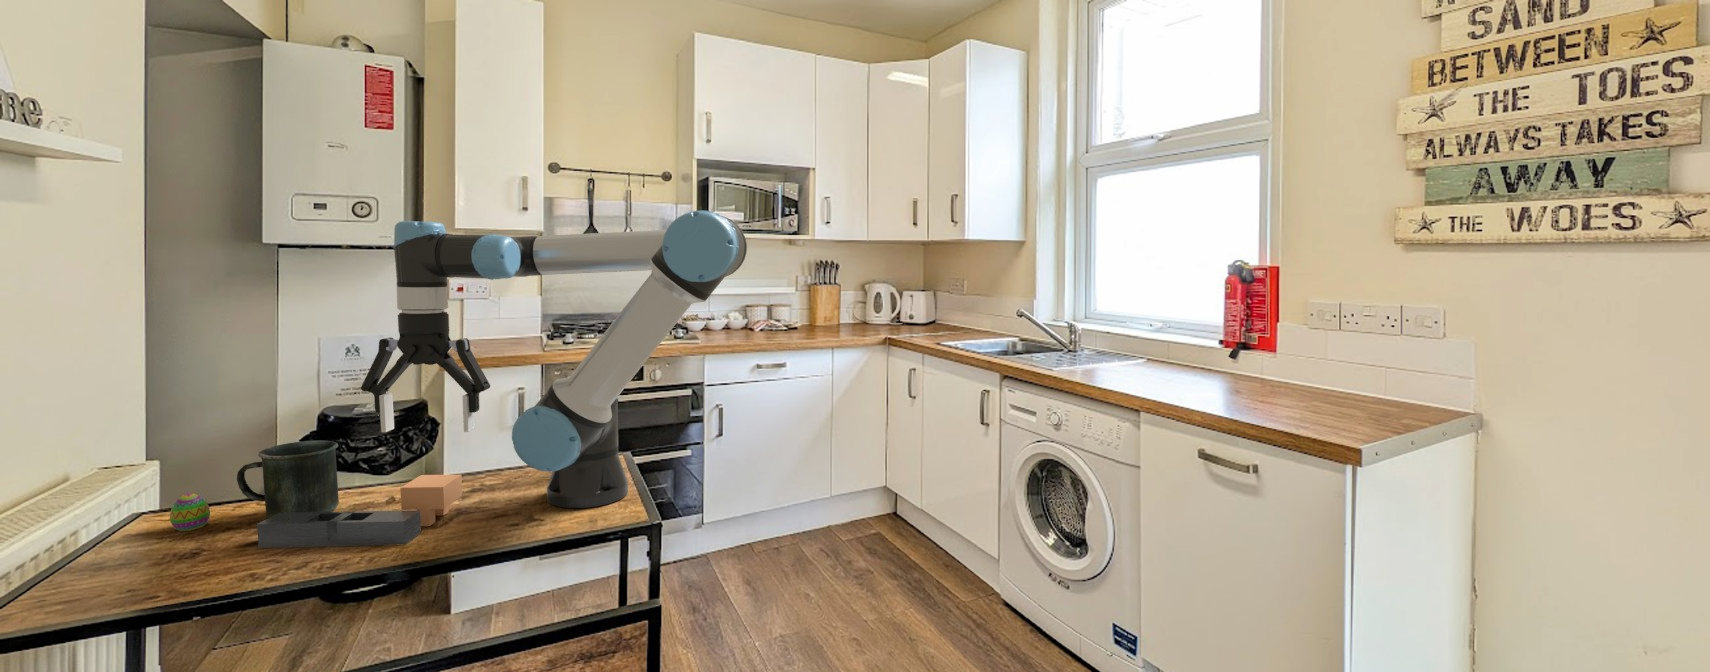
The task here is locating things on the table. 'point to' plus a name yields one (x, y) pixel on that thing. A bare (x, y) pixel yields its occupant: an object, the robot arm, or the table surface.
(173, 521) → the egg
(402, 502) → the tan block with tab
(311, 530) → the rail
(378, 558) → the table surface
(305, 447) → the mug
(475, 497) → the table surface
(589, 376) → the robot arm
